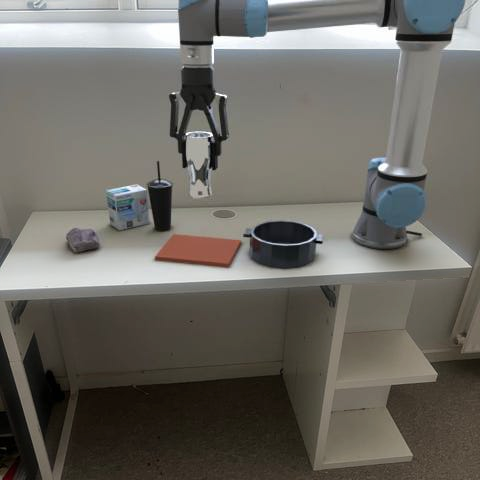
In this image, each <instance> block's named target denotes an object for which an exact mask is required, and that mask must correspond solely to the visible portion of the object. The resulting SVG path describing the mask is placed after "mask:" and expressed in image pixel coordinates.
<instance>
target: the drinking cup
mask: <svg viewBox="0 0 480 480" xmlns="http://www.w3.org/2000/svg"><path fill="white" fill-rule="evenodd" d="M156 168H157V178H154V179H151V180H149V181H148V182H146V188H147V193H148V197H149V202H150V209H151V215H152V220H153V226H154V230H155V231H158V232H167V231H169V230H171V228H172V207H173V206H172V204H173V203H172V202H173V187H174V182H173V181H172V180H168V179H167V178H161V169H160V168H161V167H160V160H156Z"/></svg>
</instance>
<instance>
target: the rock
mask: <svg viewBox="0 0 480 480" xmlns="http://www.w3.org/2000/svg"><path fill="white" fill-rule="evenodd" d="M65 236H66V237H65V239H66V241H67V243H68V245H69V247H70V249H71V250H72V251H73V252H74V253H76V254H77V253H81V252H84V251H87V250H92V249H97V248H99V246H100V245H101V241H100V238H99V235H98V233H97V231H95V229H92V228H85V229H83V228H79V227H73V228H72V229H70V230H69V231H68V232H67V233H66V234H65Z"/></svg>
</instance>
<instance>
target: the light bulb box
mask: <svg viewBox="0 0 480 480" xmlns="http://www.w3.org/2000/svg"><path fill="white" fill-rule="evenodd" d="M105 193H106V201H107V210H108V219H109V225H110V226H112V227H114V228H115V229H116V230H118V231H124V230H128V229H131V228H137V227H140V226H144V225H148V224H150V213H149V211H150V210H149V200H148V189H146V188H144V187H142V186H140V185H139V184H138V183H137V184H132V185H131V184H130V185H127V186H122V187H117V188H111V189H106V190H105Z"/></svg>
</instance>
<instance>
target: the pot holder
mask: <svg viewBox="0 0 480 480" xmlns="http://www.w3.org/2000/svg"><path fill="white" fill-rule="evenodd" d="M241 244H242V240H241V239H233V238H221V237H210V236H200V235H199V236H198V235H189V234H188V235H187V234H177V233H173V234H172V236H171V237H170V238H169V239H168V241H166V242H165V244H164V245H163V246H162V248H161V249H159V251H158V252H157V253H156V255H155V256H154V260H155V261H163V262H172V263H173V262H175V263H183V264H194V265H205V266H214V267H222V268H229V267H230V266H231V264H232V262H233V260H234V258H235V256H236V255H237V252H238V250H239V248H240V246H241Z"/></svg>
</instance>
